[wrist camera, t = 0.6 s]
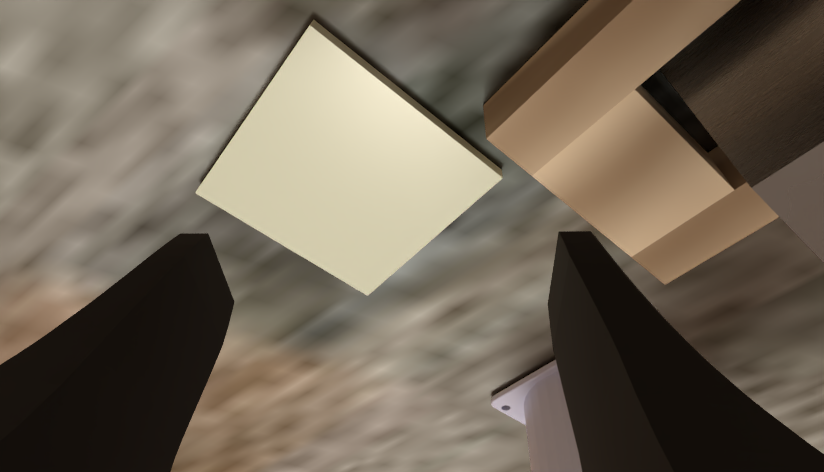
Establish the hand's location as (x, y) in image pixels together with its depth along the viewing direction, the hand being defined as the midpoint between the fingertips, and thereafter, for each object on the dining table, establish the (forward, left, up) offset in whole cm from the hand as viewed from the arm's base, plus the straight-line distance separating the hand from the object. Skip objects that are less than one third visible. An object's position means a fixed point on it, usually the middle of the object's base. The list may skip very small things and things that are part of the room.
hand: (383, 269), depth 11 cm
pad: (-1, +5, -10) cm, 11 cm away
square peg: (-8, -8, -10) cm, 15 cm away
